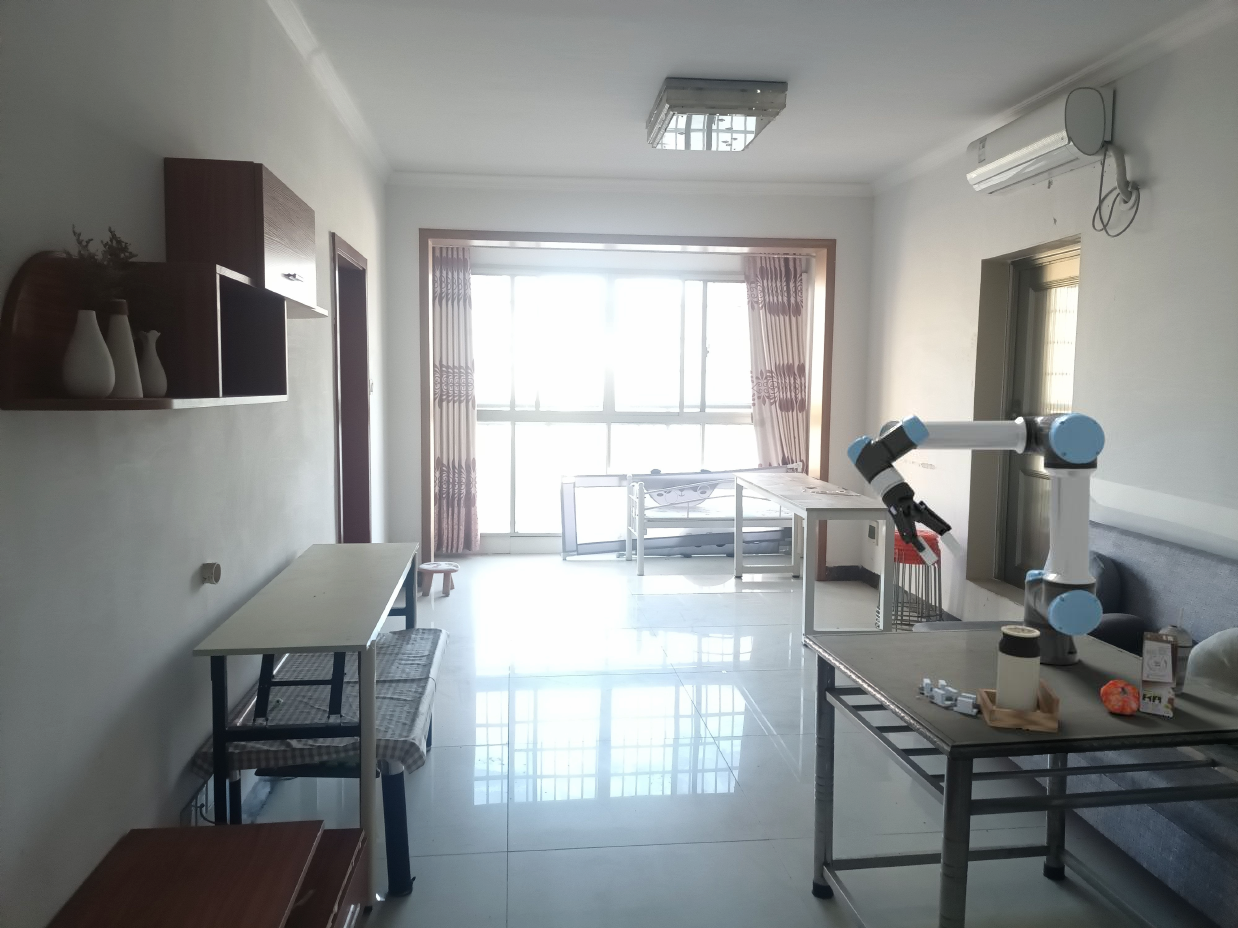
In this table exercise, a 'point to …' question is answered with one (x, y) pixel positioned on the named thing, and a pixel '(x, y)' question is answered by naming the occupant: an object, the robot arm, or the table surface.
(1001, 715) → the wooden tray
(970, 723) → the table surface
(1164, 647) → the coffee box
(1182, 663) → the beverage cup
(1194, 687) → the table surface
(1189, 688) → the table surface
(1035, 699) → the travel mug
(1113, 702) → the pomegranate
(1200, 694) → the table surface
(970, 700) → the cable route
